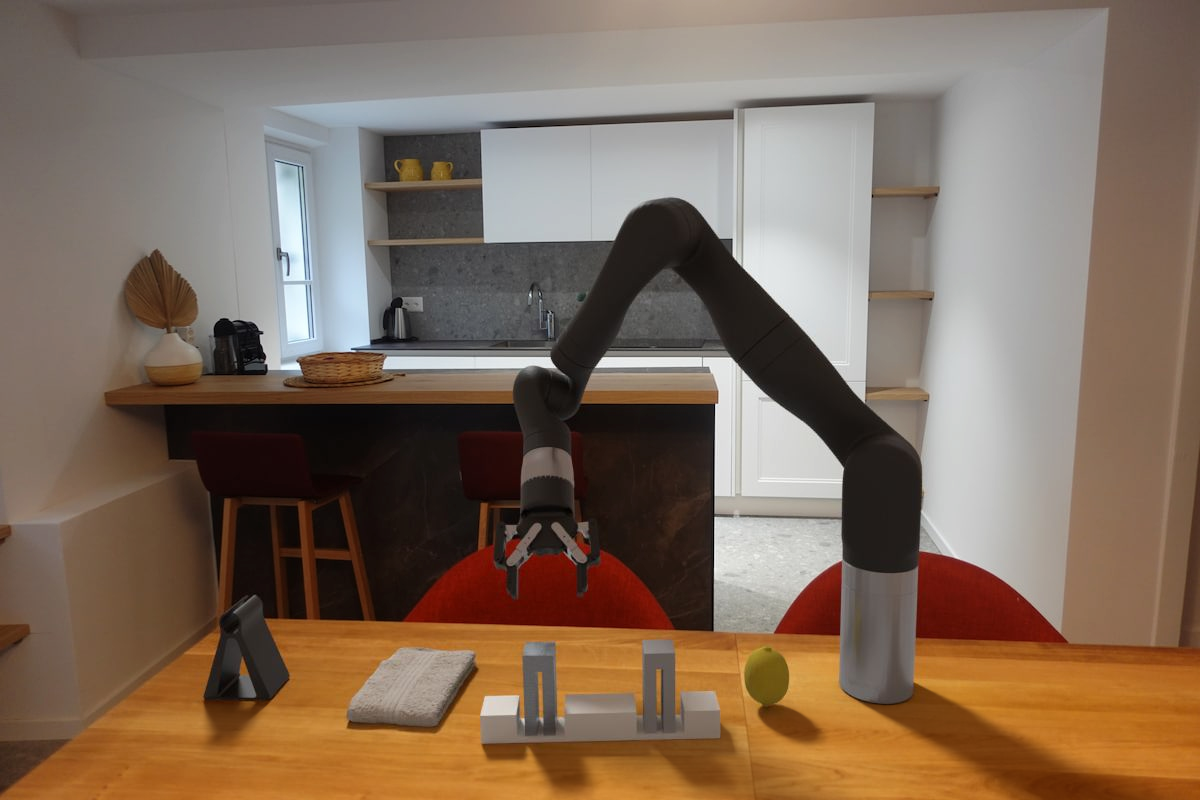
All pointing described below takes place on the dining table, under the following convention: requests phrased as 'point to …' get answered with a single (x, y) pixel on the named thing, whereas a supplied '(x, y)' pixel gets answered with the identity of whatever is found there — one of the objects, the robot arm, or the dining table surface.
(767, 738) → the dining table surface
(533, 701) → the grey slotted block
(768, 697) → the lemon
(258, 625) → the phone stand
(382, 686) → the washcloth
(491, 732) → the rail
